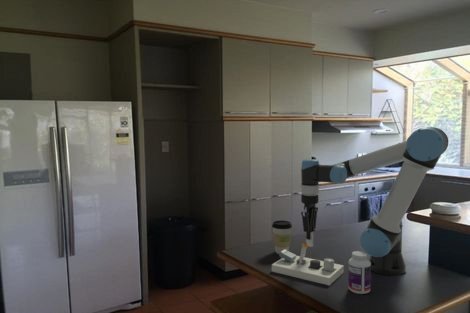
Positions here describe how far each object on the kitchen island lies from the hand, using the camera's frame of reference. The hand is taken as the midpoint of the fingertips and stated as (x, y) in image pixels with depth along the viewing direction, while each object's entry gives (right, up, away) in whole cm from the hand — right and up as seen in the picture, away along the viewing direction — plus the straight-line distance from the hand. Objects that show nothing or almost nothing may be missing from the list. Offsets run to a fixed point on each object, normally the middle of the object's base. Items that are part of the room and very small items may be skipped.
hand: (309, 245), depth 171 cm
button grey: (+5, -7, -14) cm, 16 cm away
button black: (0, -8, -10) cm, 13 cm away
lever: (-5, -5, -7) cm, 10 cm away
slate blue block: (-10, -4, -3) cm, 11 cm away
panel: (-2, -9, -8) cm, 13 cm away
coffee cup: (-10, -7, +17) cm, 21 cm away
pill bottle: (+14, -11, -27) cm, 32 cm away
